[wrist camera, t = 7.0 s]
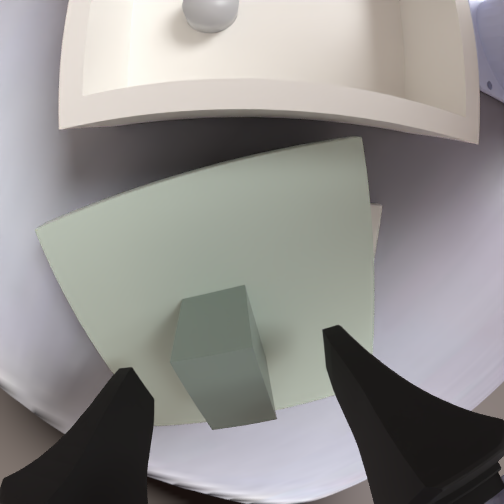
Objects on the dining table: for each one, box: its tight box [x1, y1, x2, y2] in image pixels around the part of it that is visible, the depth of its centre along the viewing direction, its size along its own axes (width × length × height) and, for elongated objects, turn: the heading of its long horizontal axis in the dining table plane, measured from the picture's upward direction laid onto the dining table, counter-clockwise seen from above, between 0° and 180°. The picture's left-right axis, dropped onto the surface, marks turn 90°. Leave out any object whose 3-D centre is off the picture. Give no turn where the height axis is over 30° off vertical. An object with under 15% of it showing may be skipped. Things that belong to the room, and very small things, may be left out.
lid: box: [35, 136, 374, 430], centre depth 11 cm, size 13×13×5 cm
